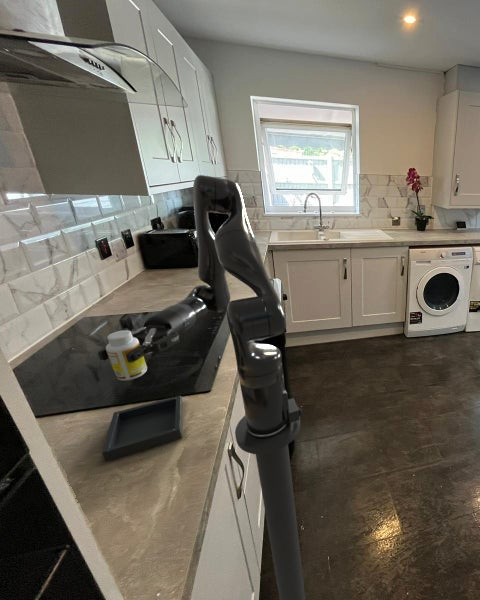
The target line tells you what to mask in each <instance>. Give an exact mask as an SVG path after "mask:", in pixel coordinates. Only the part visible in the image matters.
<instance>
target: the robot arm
mask: <svg viewBox="0 0 480 600" xmlns="http://www.w3.org/2000/svg"><path fill="white" fill-rule="evenodd" d="M192 196H193V197H192V200H193V201H192V202H193V209H194V210H193V212H194V222H195V232H196V238H197V248H198V260H197V262H198V264H197V265H198V266H197V275H198V276H197V277H198V280H200V281H201V282H203V283H204V284H200V285H196V286H195V287H193V288H192V289H191V291H190V292H189V293H188V295H187V296H186V297H185V298H184V299H183V300H181V301H179V302H177V303H176V304H173V305H170V306H168V307H166V308H164V309H162V310H160V311H158V312H157V313H155V314H153V315H152V316H150V317H148V318H147V319H145V321H144V324H143V326H141V327H138V328H136V329H134V330H129V328H128V327H124V328H121V329H120V330H119V331H123V330H127V331H130V332H131V334H132V336H133V337H134V338H137V339H138V341H139V344H140V346H138V347H137V348H135V349H133V350H132V351H130V352H129V353H127V354H126V358H127V361H128V362H130V363H133V362H135V361H136V360H138V359H140V358H141V357H143V356H145V355H150V354H152V353H155V354H160V353H162V352H164V351H166V350H168V349H169V348H172V347H173V346H175V345H176V344H178V343H180V336H181V335H183V334H184V333H186V332H187V331H189V330H190V329H191V328H192V327H193V326H194V325H195V324H197V323H198V322H200V321H201V320H203V319H204V318H205V317H206V316H207V314H208V311H211V312H214V313H222V312H224V311H226V319H227V324H228V327H229V328H228V329H229V333H230V336H231V340H232V344H233V350H234V355H235V361H236V368H237V372H238V380H239V385H240V391H241V392H240V393H241V397H242V403H243V410H244V416H246V421H247V430H248V433H249V434H250V435H251V436H252V437H254V438H258V439H265V438H270V437H273V436H276V435H278V434H279V433H281V432H282V431H283V430H284V429H285V428H286V427H288V426H290V425H291V423H292V422H295V421H298V420H300V421H301V416H302V414H303V410H302V408H301V407H298V405H297V403H296V400H295V398H294V397H293V398H289V395H288V392H287V390H286V387H285V385H286V384H285V377H284V367H283V358H282V357H283V355H282V352H281V350H280V348H278V347H277V346H274V345H272V344H269V343H259V342H256V341H263V340H265V339H267V340H268V339H270V338H275V337H278V336H280V335H283V334H284V333H285V332H286V329H287V317H286V314H285V309H284V307H283V305H282V302H281V300H280V297H279V296H278V294H277V291H276V289H275V287H274V285H273V283H272V281H271V279H270V276H269V274H268V271H267V269H266V266H265V262H264V260H263V257H262V254H261V250H260V247H259V245H258V242H257V239H256V237H255V235H254V231H253V229H252V226H251V225H250V224H251V223H250V222H249V218H248V216H247V212H246V207H245V203H244V199H243V195H242V192H241V189H240V186H239V185H238V183H237V182H236V181H234V180H231V179H228V178H221V177H218V176H217V177H216V176H211V175H204V174H199V175H197V176H196V177H195V178H194V181H193V187H192ZM209 213H213V214H223V215H228V218H227V219H226V221H224V222H223V224H221V226H220V227H219V228H218V230H217V231H216V233H215V232H214V230H213V229H212V227H211V223H210V219H209ZM226 272H227V273H228V274H230V275H231V276H232V277H234V278H236V279H237V280H238V281H240V282H242V283H243V284H244V285H246V286H247V287H248V288H250V289H251V290H252V292H253V293H254V294H255V295H256V296H251V297H245V298H239V299H234V300H231V294H230V289H229V285H228V281H227V277H226ZM106 342H107V345H108V344H109V342H108V339H106ZM97 355H98V358H99V360H100V361H106V360H108V359H109V356H108V354H107V351H106V347H104V348H102V349H100V350H99V351H98V352H97Z"/></svg>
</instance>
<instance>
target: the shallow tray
mask: <svg viewBox="0 0 480 600" xmlns="http://www.w3.org/2000/svg"><path fill="white" fill-rule="evenodd" d="M183 415H184V402H183V399H182V395H176V396H173V397H169V398H165V399H161V400H156V401H153V402H150V403H146V404H141V405H138V406H134V407H130V408H126V409H122V410H118V411H114V412H113V414H112V418H111V420H110V424H109V427H108V431H107V434H106V437H105V442H104V445H103V447H102V452H101V454H102V457H103V459H104V461H105V463H106V462H110V461H114V460H117V459H120V458H123V457H126V456H128V455H129V456H130V455H133V454H137V453H139V452H142V451H145V450H150V449H152V448H156V447H159V446H162V445H165V444H169V443H172V442H175V441H178V440H181V439H183Z"/></svg>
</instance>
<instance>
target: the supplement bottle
mask: <svg viewBox="0 0 480 600" xmlns="http://www.w3.org/2000/svg"><path fill="white" fill-rule="evenodd" d="M130 331H131V330H128V331H127V330H123V331H120V330H117V331H114V332H112V333H110V334H108V335H107V337H106V338H107V339H108V342H109V344H108V342H107V344H106V346H105V348H106V351H107V354H108V356H109V358H108V359H109V362H110V364H111V367H112V370H113V373H114V376H115V377H116V379H117V380H119V381H131V380H135V379H138V378H139V377H142V376H143V375H144V374H145V373H146V372H147V370H148V365H147V362H146V360H145V357H144V356H145V355H144V356H143V357H141V358H140V359H138V360H136V361H135V362H133V363H130V362H128V361H127V358H126V354H127V353H129V352H130V351H132V350H133V349H135V348H137V347H138V346H141V345H140V344H139V341H138V339H137V338H134V337H133V336H132V334H131V332H130ZM107 339H106V340H107Z"/></svg>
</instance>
